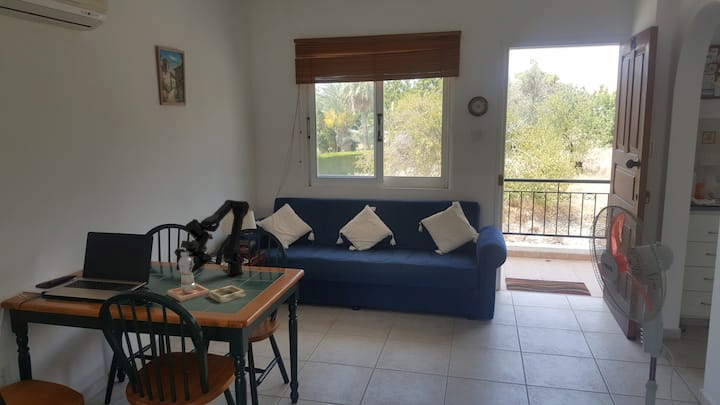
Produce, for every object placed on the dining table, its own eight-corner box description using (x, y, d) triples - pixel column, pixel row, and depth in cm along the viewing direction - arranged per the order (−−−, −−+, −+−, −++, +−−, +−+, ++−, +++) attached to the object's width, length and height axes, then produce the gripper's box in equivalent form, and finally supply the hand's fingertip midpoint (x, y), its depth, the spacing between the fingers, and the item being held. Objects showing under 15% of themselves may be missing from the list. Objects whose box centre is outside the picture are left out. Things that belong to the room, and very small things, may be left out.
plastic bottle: (195, 294, 224) (191, 252, 221) (180, 296, 223) (176, 253, 220) (197, 289, 231) (193, 249, 227) (182, 291, 229) (178, 250, 226)
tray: (196, 287, 237) (196, 283, 236) (209, 294, 227) (209, 289, 226) (167, 294, 227) (167, 290, 227) (180, 301, 217) (180, 297, 217)
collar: (232, 290, 231) (232, 285, 231) (245, 296, 223) (245, 290, 222) (208, 296, 223) (208, 291, 223) (221, 303, 215) (221, 297, 214)
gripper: (175, 231, 230) (158, 260, 222) (205, 234, 222) (189, 264, 214) (189, 244, 238) (173, 272, 230) (218, 247, 230) (203, 276, 222)
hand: (184, 271), depth 224 cm, fingers open, 9 cm apart
